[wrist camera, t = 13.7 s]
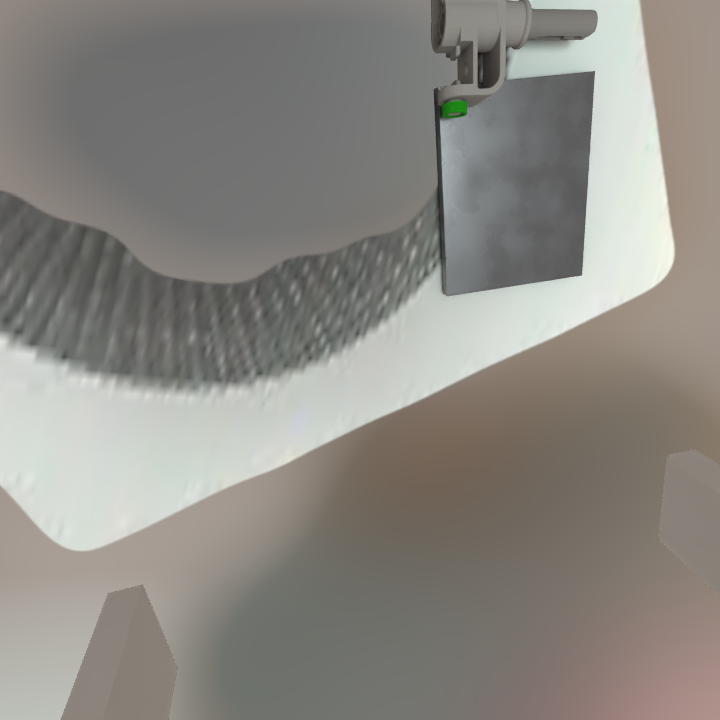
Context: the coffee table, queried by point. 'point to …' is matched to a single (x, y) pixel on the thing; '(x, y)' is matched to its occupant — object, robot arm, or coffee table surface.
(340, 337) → the coffee table surface
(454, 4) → the mechanical component
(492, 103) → the plate
